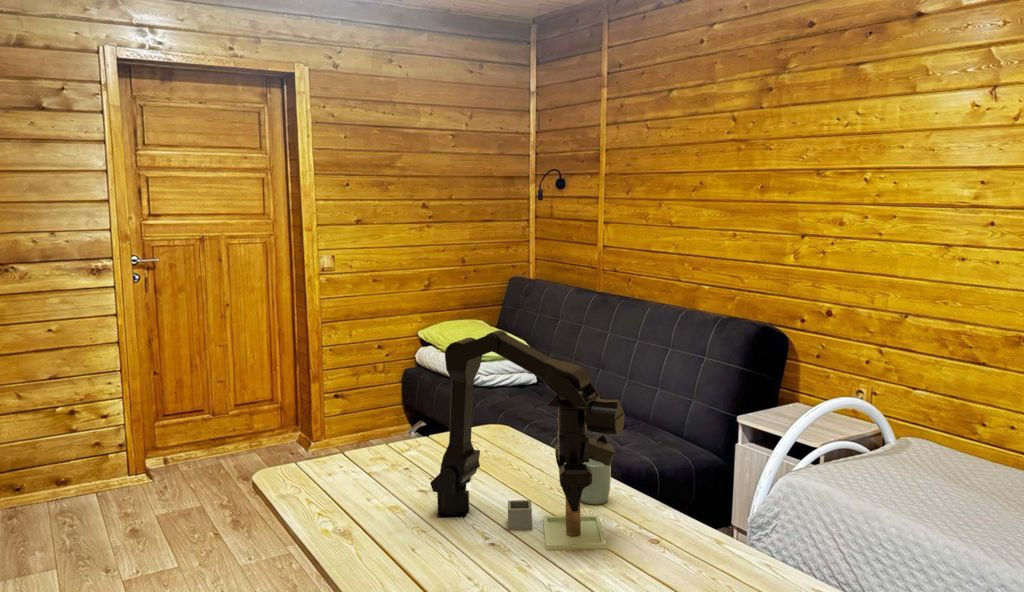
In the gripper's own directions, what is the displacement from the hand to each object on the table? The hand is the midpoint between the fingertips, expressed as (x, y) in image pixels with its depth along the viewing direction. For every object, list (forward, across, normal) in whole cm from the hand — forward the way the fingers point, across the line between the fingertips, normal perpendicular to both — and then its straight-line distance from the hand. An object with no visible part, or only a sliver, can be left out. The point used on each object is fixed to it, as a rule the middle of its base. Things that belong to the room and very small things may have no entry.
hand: (573, 502), depth 162 cm
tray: (+7, 0, 0) cm, 7 cm away
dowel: (+7, 0, 0) cm, 7 cm away
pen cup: (+7, +5, +11) cm, 14 cm away
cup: (+8, +18, -6) cm, 20 cm away
